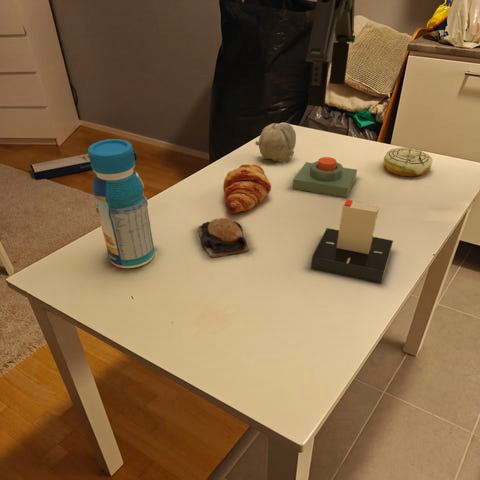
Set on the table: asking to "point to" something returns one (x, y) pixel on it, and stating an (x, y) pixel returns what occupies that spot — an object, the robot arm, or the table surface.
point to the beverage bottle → (121, 203)
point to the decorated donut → (407, 162)
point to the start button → (327, 164)
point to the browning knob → (357, 226)
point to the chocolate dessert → (222, 237)
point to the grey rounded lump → (277, 142)
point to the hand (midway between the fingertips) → (327, 94)
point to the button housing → (325, 180)
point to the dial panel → (351, 258)
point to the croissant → (245, 187)
